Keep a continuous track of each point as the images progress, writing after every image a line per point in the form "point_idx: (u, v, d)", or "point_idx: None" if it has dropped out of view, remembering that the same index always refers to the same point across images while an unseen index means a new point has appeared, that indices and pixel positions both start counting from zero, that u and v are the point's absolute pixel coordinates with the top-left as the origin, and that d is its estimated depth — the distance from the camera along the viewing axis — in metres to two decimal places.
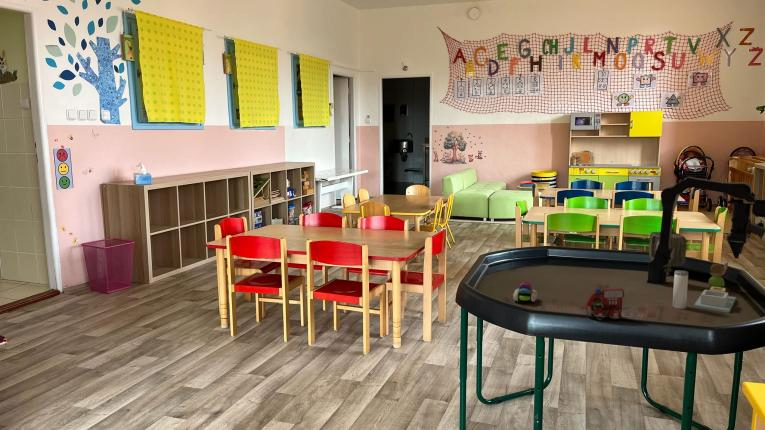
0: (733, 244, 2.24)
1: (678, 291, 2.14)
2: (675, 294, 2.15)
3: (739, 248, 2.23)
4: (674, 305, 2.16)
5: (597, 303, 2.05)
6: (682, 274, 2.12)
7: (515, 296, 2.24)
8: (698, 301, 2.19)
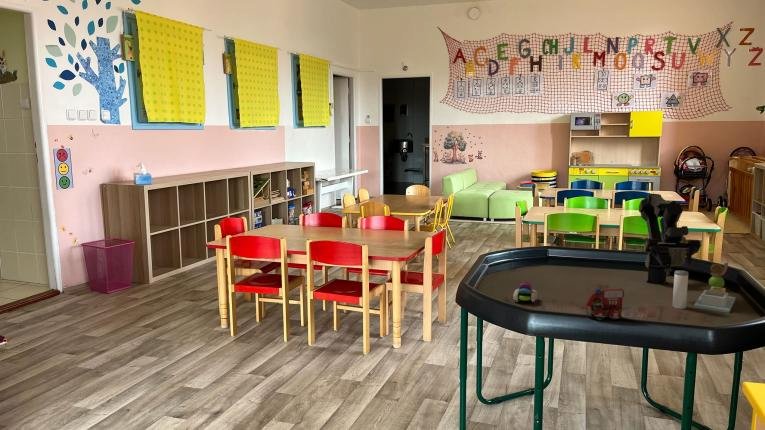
0: (655, 253, 2.27)
1: (678, 291, 2.14)
2: (675, 294, 2.15)
3: (657, 254, 2.25)
4: (674, 305, 2.16)
5: (597, 303, 2.05)
6: (682, 274, 2.12)
7: (515, 296, 2.24)
8: (698, 301, 2.19)
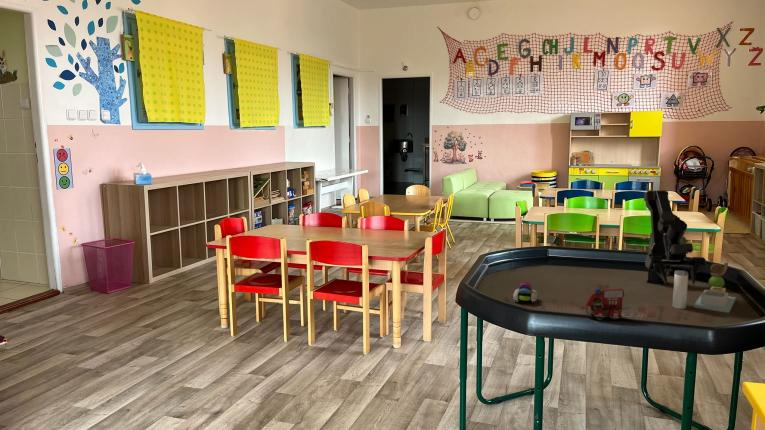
0: (658, 271, 2.21)
1: (678, 291, 2.14)
2: (675, 294, 2.15)
3: (661, 271, 2.19)
4: (674, 305, 2.16)
5: (597, 303, 2.05)
6: (682, 274, 2.12)
7: (515, 296, 2.24)
8: (698, 301, 2.19)
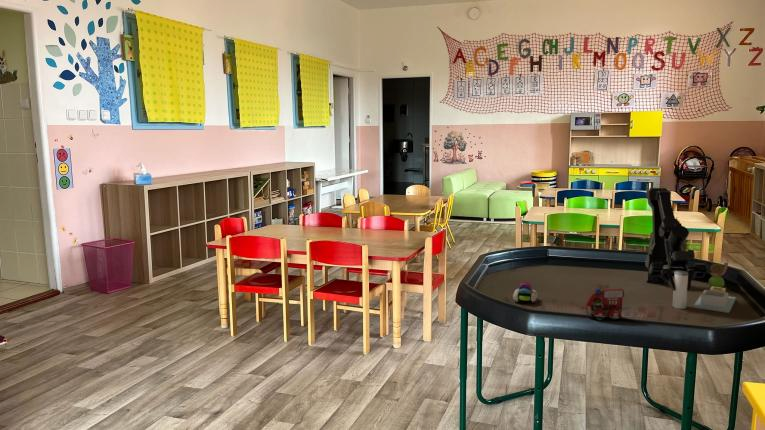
0: (666, 278, 2.19)
1: (678, 291, 2.14)
2: (675, 294, 2.15)
3: (669, 278, 2.16)
4: (674, 305, 2.16)
5: (597, 303, 2.05)
6: (682, 274, 2.12)
7: (515, 296, 2.24)
8: (698, 301, 2.19)
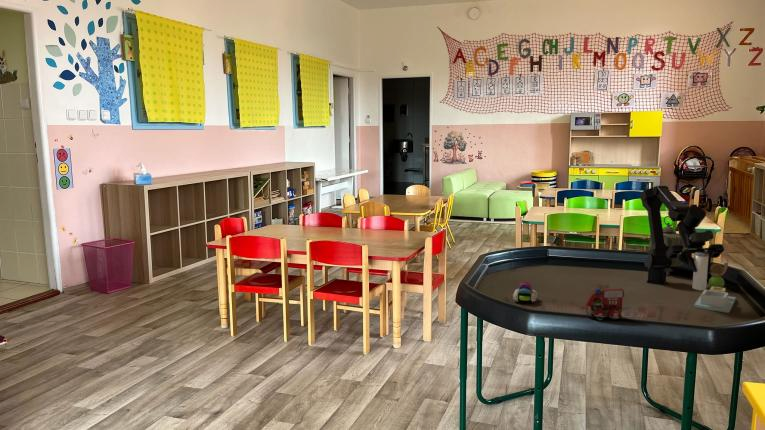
0: (685, 260, 2.17)
1: (700, 272, 2.12)
2: (696, 276, 2.13)
3: (689, 260, 2.14)
4: (695, 287, 2.14)
5: (597, 303, 2.05)
6: (704, 255, 2.11)
7: (515, 296, 2.24)
8: (698, 301, 2.19)
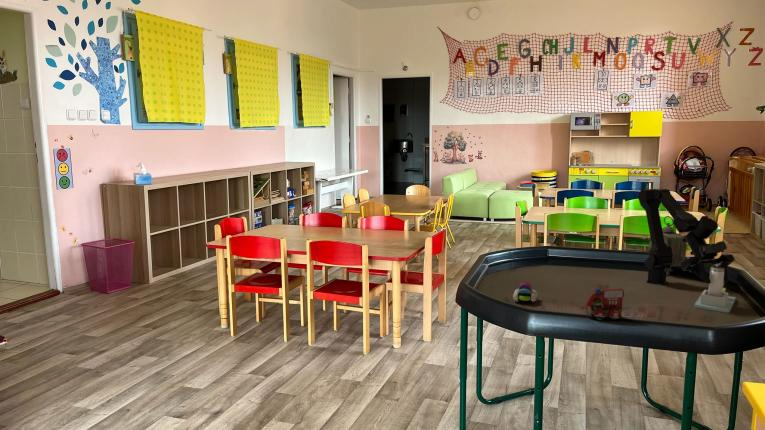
0: (697, 271, 2.17)
1: (717, 287, 2.14)
2: (713, 291, 2.14)
3: (702, 272, 2.15)
4: None
5: (597, 303, 2.05)
6: (721, 270, 2.12)
7: (515, 296, 2.24)
8: (698, 301, 2.19)
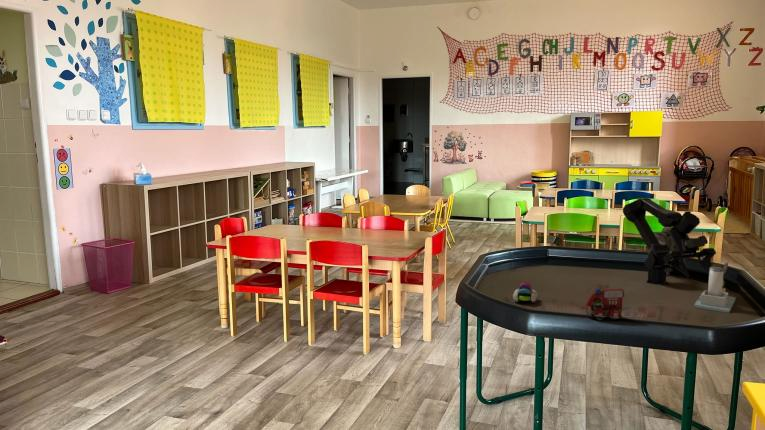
0: (677, 265, 2.26)
1: (717, 287, 2.14)
2: (713, 291, 2.14)
3: (681, 265, 2.24)
4: None
5: (597, 303, 2.05)
6: (720, 270, 2.12)
7: (515, 296, 2.24)
8: (698, 301, 2.19)
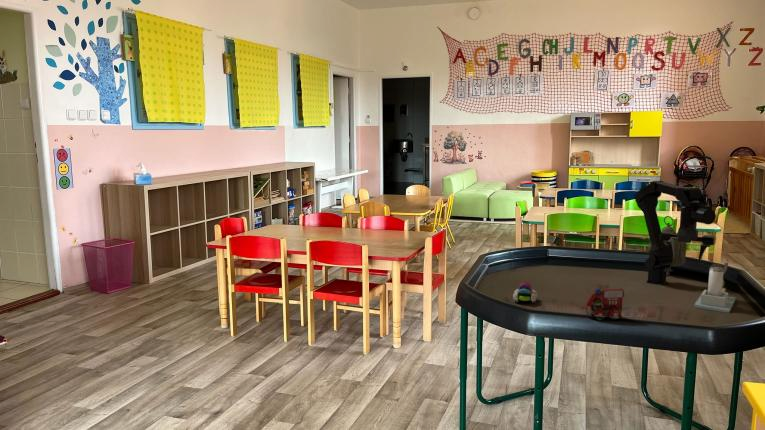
0: None
1: (717, 287, 2.14)
2: (713, 291, 2.14)
3: None
4: None
5: (597, 303, 2.05)
6: (720, 270, 2.12)
7: (515, 296, 2.24)
8: (698, 301, 2.19)
